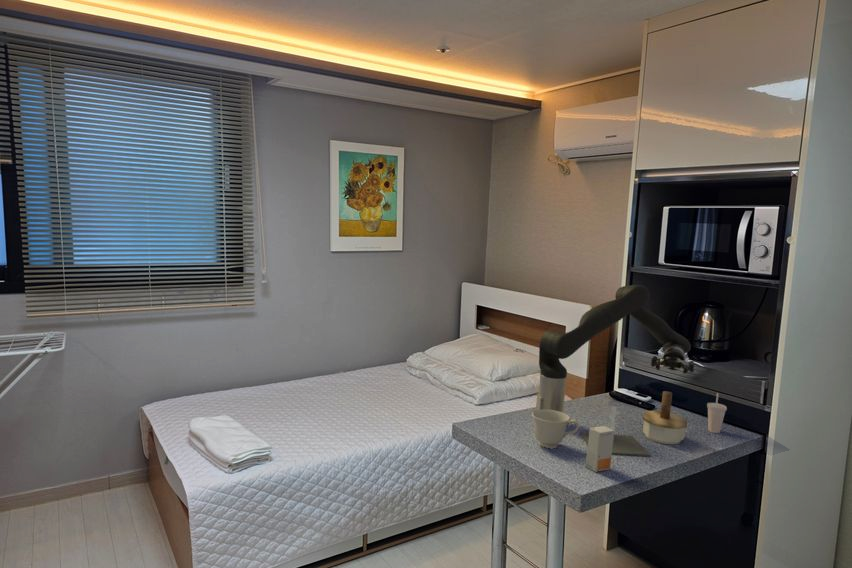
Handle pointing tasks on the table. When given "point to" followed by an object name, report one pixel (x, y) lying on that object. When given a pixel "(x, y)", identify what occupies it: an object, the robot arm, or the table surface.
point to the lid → (665, 415)
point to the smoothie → (715, 416)
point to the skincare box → (599, 448)
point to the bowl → (663, 434)
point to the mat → (624, 445)
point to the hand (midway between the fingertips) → (671, 369)
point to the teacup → (551, 427)
